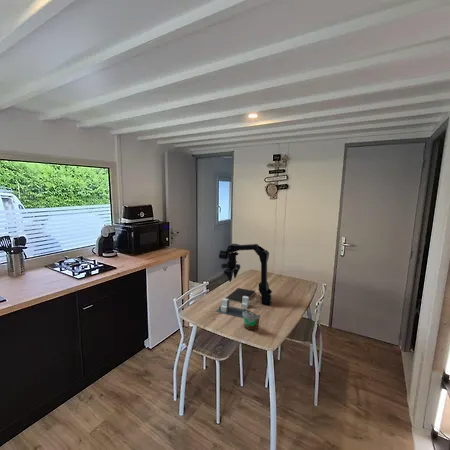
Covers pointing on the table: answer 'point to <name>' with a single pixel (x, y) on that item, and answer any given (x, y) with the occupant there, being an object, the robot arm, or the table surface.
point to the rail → (232, 311)
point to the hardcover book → (239, 295)
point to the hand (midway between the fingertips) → (232, 279)
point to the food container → (250, 320)
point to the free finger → (245, 302)
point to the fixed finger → (225, 304)
